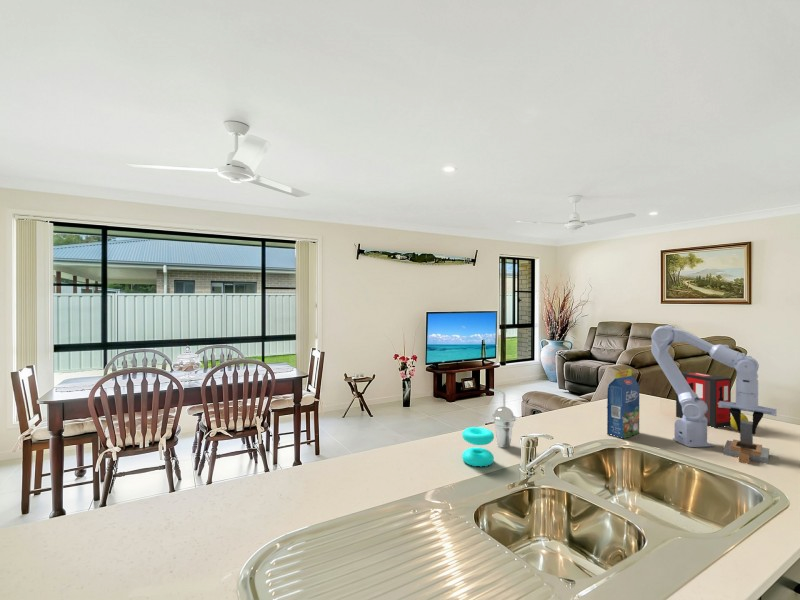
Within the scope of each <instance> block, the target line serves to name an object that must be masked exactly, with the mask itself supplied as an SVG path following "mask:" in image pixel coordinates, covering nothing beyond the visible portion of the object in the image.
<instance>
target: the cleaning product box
mask: <svg viewBox="0 0 800 600" xmlns="http://www.w3.org/2000/svg"><path fill="white" fill-rule="evenodd" d="M680 372H681V373H682V375H683V376H684V378H685V380H686V381H687V383H688V384H689V386H690V387H691V389H692V390H693V391H694V392H695V393H696V394H697V396H698V397H699V398H700V399H701V400H703V401H704V402H705V403H706V404H707V407H708V411H707V412H706V413H705V414H704V415H705V417H706V418H707V427H709V426H711V427H710V428H712V427H714V428H713V429H719V428H718V427H722V428H725V427H724V426H729V427H732V426H731V423H730V419H731V416H732V414H731V412H730V411H731V409H730V408H720V407H719V401H724V402H732V398H731V396H732V392H731V391H732V390H731V389H732V388H731V387H732V379H731V377H724V376H719V375H715V374H714V375H713V374H708V373H702V372H697V371H692V370H690V371H680ZM675 395H676V396H675V417H676V418H678V419H681V418H682V417H683V415H684V414H683V412H682V406H681V404H680V402H679V398H678V395H677V393H676V392H675Z"/></svg>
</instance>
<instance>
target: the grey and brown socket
mask: <svg viewBox="0 0 800 600" xmlns="http://www.w3.org/2000/svg"><path fill="white" fill-rule="evenodd" d="M725 442H726V443H725V445H724V446H723V455H725V456H729V455H730V456H729V457H734V458H738V457H739V458H738V463H742V464H746V463H747V465H749V464H750V462H751V461H752V462H756V463H762V464H766V465H769V459H770V448H767V447H763V444H759V443H754V442H753V444H752V445H747V444H742V443H740V439H739V440H738V439H733V440H729V439H728V440H726V441H725Z"/></svg>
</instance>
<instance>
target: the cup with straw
mask: <svg viewBox="0 0 800 600" xmlns="http://www.w3.org/2000/svg"><path fill="white" fill-rule="evenodd" d="M489 391H491V392H495V393H498V394H502V397H503V398H502V399H503V401H502V404H503V405H502V406H500V407H499V406H498V408H496V409H495V410H494V413H492V416H491V419H492V420H493V424H494V426H495V427H494V429H495V436H496V442H497V445H498V446H497V447H499V446H500V447H499V448H501V447H509V448H510V447H511V443H512V437H513V427H514V423H515V422H516V421H517V416H515V414H514V412H513V410H512V409H511V408H509V407H507V406H506V393H505V392H504V391H501V390H497V389H494V388H489Z"/></svg>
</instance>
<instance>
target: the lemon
mask: <svg viewBox="0 0 800 600" xmlns="http://www.w3.org/2000/svg"><path fill="white" fill-rule="evenodd" d="M741 420H745V421H749V419H748V417H747V415H745V414H744V413H742V412H741ZM730 423H731V426H730V427H732V428H733V429H734V430H735V431H737V432H738V428H737V425H736V422H735V420H734V418H733V416H732V415H731V419H730Z"/></svg>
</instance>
